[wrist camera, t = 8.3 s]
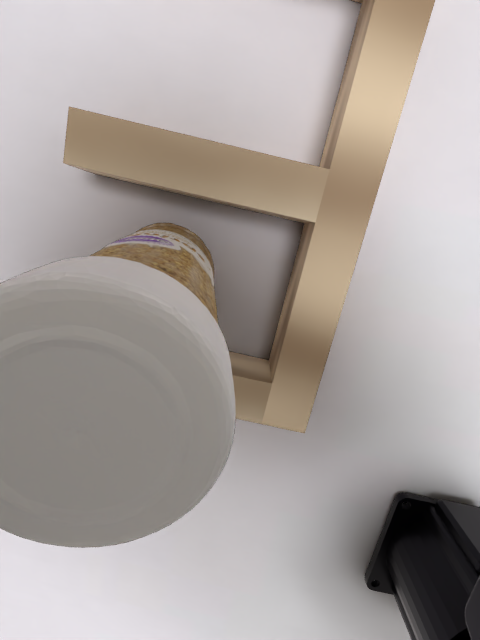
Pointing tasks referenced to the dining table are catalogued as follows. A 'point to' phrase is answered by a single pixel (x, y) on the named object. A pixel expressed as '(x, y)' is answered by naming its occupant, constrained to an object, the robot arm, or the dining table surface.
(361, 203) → the comb rack
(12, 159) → the dining table surface
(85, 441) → the sprinkles bottle
